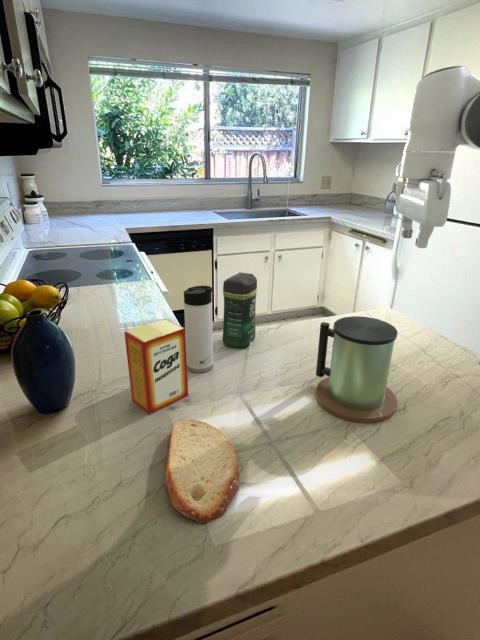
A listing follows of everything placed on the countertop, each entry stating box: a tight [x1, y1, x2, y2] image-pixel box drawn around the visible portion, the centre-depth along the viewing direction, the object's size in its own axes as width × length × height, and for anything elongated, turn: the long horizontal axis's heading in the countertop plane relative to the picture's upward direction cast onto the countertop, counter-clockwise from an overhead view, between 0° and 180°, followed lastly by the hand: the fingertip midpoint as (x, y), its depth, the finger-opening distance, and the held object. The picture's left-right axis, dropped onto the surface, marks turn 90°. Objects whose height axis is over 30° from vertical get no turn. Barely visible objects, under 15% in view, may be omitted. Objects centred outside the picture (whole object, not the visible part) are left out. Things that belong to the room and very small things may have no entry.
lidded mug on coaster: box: [314, 315, 398, 424], centre depth 79 cm, size 16×18×16 cm
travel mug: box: [183, 285, 214, 374], centre depth 92 cm, size 6×7×20 cm
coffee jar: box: [222, 271, 258, 349], centre depth 106 cm, size 10×8×19 cm
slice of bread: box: [165, 419, 240, 524], centre depth 65 cm, size 18×18×4 cm
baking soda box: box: [123, 318, 189, 415], centre depth 81 cm, size 10×6×16 cm
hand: (413, 242), depth 81 cm, fingers open, 8 cm apart
